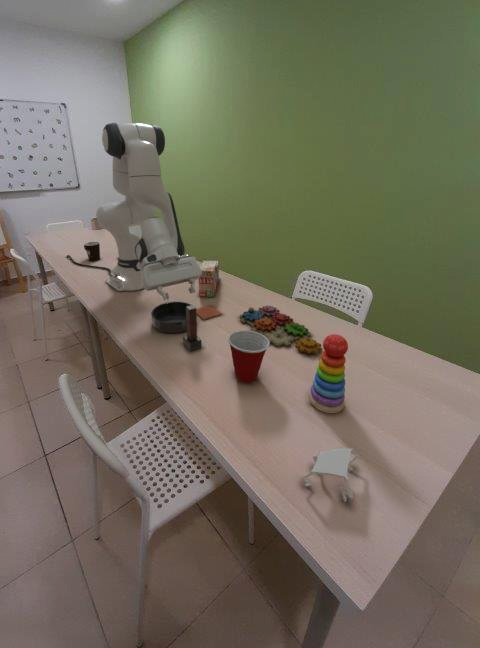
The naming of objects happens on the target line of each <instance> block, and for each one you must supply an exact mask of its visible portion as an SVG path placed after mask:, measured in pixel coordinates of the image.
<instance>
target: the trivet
mask: <svg viewBox="0 0 480 648" xmlns="http://www.w3.org/2000/svg"><path fill="white" fill-rule="evenodd" d="M196 313H197V316H198V317H199V318H200V319H201V320H203V321H205V320H209V319H212V318H215V317H220V316H222V313H221V311H219V310H218V309H216V308H215V307H213V305H211V304H210V305H207V306H204V307H203V306H202V307H199V308H196Z"/></svg>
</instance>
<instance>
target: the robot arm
mask: <svg viewBox="0 0 480 648" xmlns="http://www.w3.org/2000/svg"><path fill="white" fill-rule="evenodd" d="M165 137H166V136H165V133H164V131H163V129H162V128H161V127H160V126H159V125H155V124H146V123H140V122H133V123H132V122H121V123H117V122H111V123H107V124H105V126H104V127H103V129H102V134H101V141H102V142H101V143H102V146H103V148H104V151H105V153H107V154H108V155H109V156H111V157H112V186H113V189H114V190H115V191H116V192H117V193H118V194H120V195H121V196H124V197H125V199H124V200H123V201H115V202H113V201H112V202H108V203H104V204H102V205H100V206H99V207H98V208H97V210H96V214H95V216H96V217H95V218H96V221H97V224H98V225H99V226H100V227H101V228H102V229H103V230H105V231H107V232H109V234H111V236H112V237H113V239H114V241H115V243H116V244H115V245H116V247H117V255H118V257H116V258H115V259H116V261H117V264H116V265H115V266H114V267H113V268H108V267H104V266H96V265H90V264H83V263H79V262H77V261H75V260H74V259H73V257H72V256H71V255H70V254H67V255H66V258H69V259H70V260H71V261H72V263H73V264H74V265H77V266H81V267H88V268H94V269H101V270H107V271H108V273H109V276H110V277H109V278H108V279H107V280H106V283H107V284H108V286H110V287H112V288H113V289H115V291H117V292H125V291H139V290H143V289H144V290H145V291H146V292H149V291H150V292H151V291H155V290H156V292H157V294H159V295H160V296H162V297H161V298H162V299H163V301H167V300H169V299H170V296H169V293H168V292H165V291H164V290H163V289H164V288H167V287H171V286H175V285H179V284H180V285H181V284H184V283H188V284H189V285H190V286H189V288H188V289H187V291H189V294H191V295H192V294H194V293H196V288H195V283H196V280H199V278H200V277H201V275H202V271H201V269H200V267H201V266H200V264H198V262H197V259H196V257H195V256H194V255H191V254H185V253H186V249H185V245H184V241H183V238H182V236H181V231H180V227H179V222H178V217H177V212H176V208H175V204H174V200H173V197H172V195H171V194H170V193H169V192H168V191H167V190H166V188H165V186H164V183H163V179H162V170H161V169H162V168H161V162H160V158H159V157H160V156H161V155H162V154H163V153H164V150H165V147H166V138H165ZM155 209H156V210H158V212H160V214H161V216H162V218H161V217H160V216H155ZM136 226H140V229H141V236H140V237H139V235H136V234H134V233H131V231H130V229H129V228H130V227H136Z"/></svg>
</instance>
